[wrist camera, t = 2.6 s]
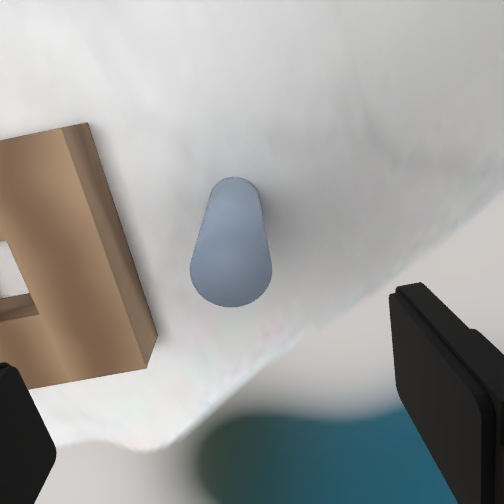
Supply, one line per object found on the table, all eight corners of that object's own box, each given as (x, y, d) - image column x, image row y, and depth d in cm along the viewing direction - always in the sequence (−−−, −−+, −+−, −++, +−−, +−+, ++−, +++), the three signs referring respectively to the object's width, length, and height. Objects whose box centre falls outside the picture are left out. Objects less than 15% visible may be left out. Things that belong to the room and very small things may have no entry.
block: (87, 122, 22) (60, 127, 19) (157, 335, 27) (146, 368, 24) (-151, 172, 23) (-216, 186, 20) (-39, 371, 28) (-76, 408, 25)
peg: (254, 172, 23) (263, 224, 14) (263, 221, 25) (278, 299, 15) (204, 182, 24) (180, 240, 14) (215, 230, 25) (200, 313, 15)
